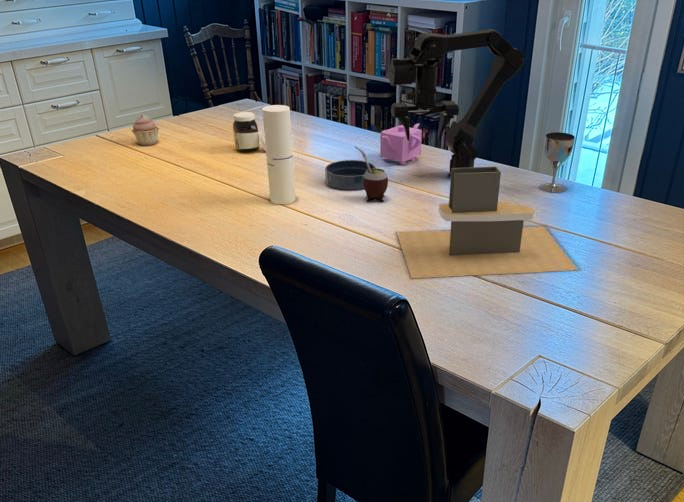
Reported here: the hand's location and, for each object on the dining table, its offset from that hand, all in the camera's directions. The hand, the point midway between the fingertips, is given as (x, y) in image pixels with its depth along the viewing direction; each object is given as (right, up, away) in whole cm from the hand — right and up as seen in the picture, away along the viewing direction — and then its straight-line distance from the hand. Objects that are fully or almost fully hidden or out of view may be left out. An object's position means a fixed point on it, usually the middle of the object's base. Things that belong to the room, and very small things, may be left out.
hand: (423, 139), depth 198 cm
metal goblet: (+38, -14, 0) cm, 40 cm away
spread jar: (-55, +7, +33) cm, 65 cm away
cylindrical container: (-40, -19, -6) cm, 45 cm away
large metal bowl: (-22, -11, +6) cm, 25 cm away
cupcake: (-94, +12, +40) cm, 103 cm away
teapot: (-6, +1, +23) cm, 23 cm away
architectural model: (+11, -38, -35) cm, 53 cm away
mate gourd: (-15, -19, -6) cm, 25 cm away
